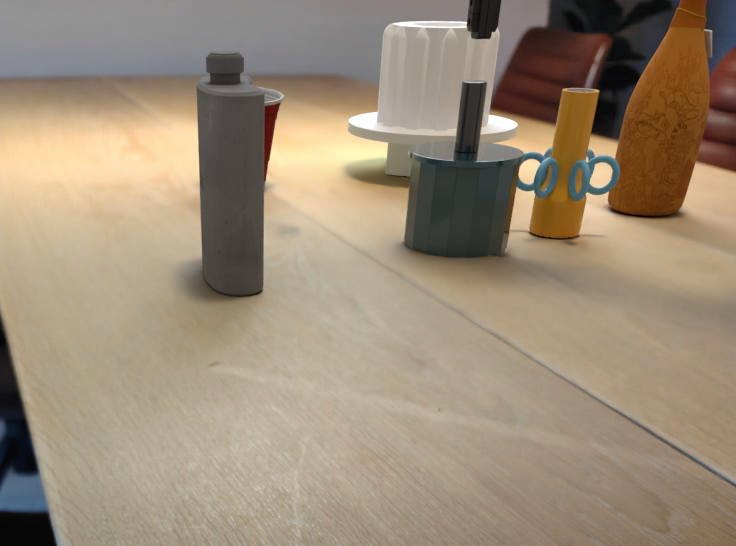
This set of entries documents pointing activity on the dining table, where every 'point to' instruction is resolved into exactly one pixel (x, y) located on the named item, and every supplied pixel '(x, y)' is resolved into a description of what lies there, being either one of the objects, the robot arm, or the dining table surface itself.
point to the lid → (468, 138)
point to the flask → (231, 175)
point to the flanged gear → (428, 88)
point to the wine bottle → (665, 119)
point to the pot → (460, 210)
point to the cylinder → (567, 168)
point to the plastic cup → (270, 122)
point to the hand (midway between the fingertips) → (480, 38)
